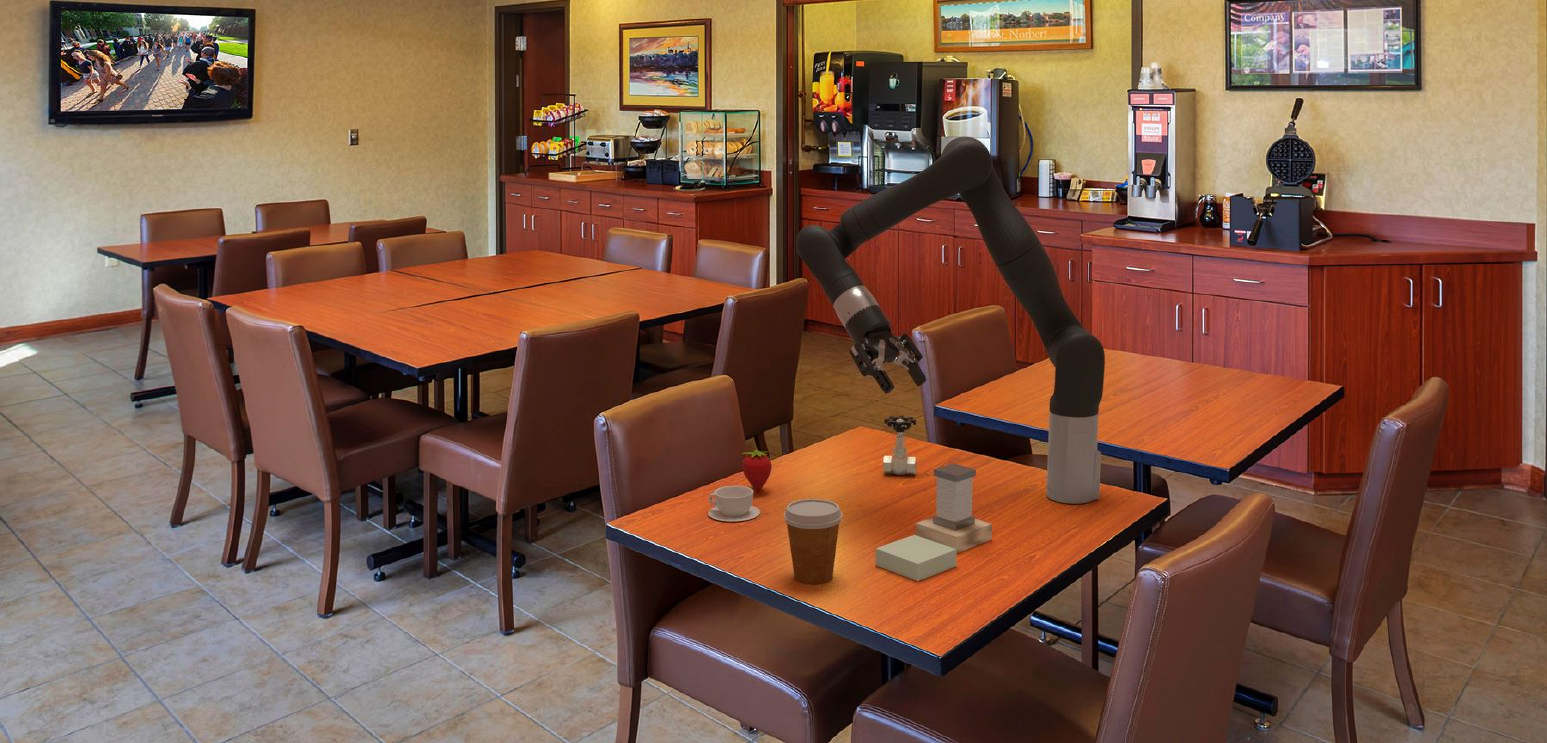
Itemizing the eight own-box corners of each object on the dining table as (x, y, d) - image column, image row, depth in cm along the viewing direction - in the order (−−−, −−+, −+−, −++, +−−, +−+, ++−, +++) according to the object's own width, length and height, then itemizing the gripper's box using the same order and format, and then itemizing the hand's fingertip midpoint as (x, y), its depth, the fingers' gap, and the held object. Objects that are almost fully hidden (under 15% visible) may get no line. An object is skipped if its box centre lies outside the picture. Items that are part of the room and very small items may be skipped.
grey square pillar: (952, 516, 215) (953, 463, 212) (974, 523, 211) (976, 469, 209) (932, 523, 211) (933, 469, 209) (955, 530, 207) (956, 475, 205)
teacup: (767, 509, 230) (767, 486, 229) (749, 526, 221) (749, 502, 220) (719, 504, 233) (718, 481, 232) (699, 520, 224) (699, 497, 223)
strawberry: (746, 498, 236) (744, 449, 234) (739, 487, 243) (738, 439, 241) (775, 496, 237) (774, 447, 235) (768, 484, 244) (767, 437, 242)
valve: (914, 480, 246) (914, 424, 243) (882, 478, 247) (882, 422, 244) (916, 470, 252) (917, 415, 249) (885, 469, 253) (886, 414, 251)
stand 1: (914, 551, 207) (914, 534, 206) (956, 566, 200) (956, 549, 199) (875, 565, 200) (875, 548, 200) (917, 581, 193) (918, 564, 193)
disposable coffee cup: (782, 567, 200) (780, 499, 198) (838, 564, 201) (838, 496, 198) (787, 589, 191) (786, 518, 188) (846, 587, 192) (846, 516, 189)
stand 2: (950, 526, 218) (950, 511, 218) (991, 540, 211) (992, 524, 211) (915, 539, 212) (915, 523, 212) (956, 553, 205) (956, 537, 204)
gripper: (844, 308, 213) (891, 381, 207) (898, 299, 222) (944, 369, 217) (823, 333, 218) (868, 405, 212) (877, 323, 227) (921, 392, 222)
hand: (906, 387), depth 215 cm, fingers open, 8 cm apart
